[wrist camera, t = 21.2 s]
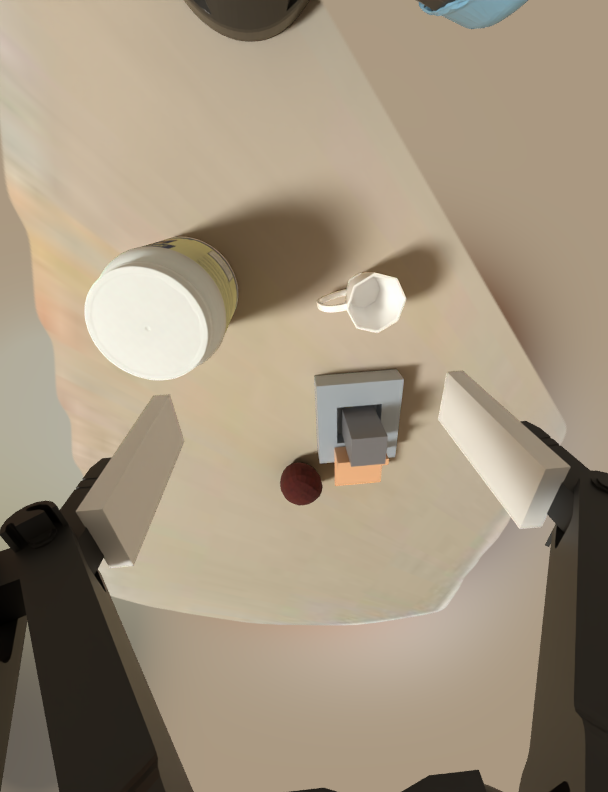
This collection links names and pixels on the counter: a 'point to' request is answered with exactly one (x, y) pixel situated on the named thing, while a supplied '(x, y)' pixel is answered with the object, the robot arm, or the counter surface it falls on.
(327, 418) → the socket block
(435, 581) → the counter surface
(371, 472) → the orange l-shaped bracket
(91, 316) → the supplement tub
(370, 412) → the plug
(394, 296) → the cup
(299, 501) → the dark brown ball
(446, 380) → the robot arm
